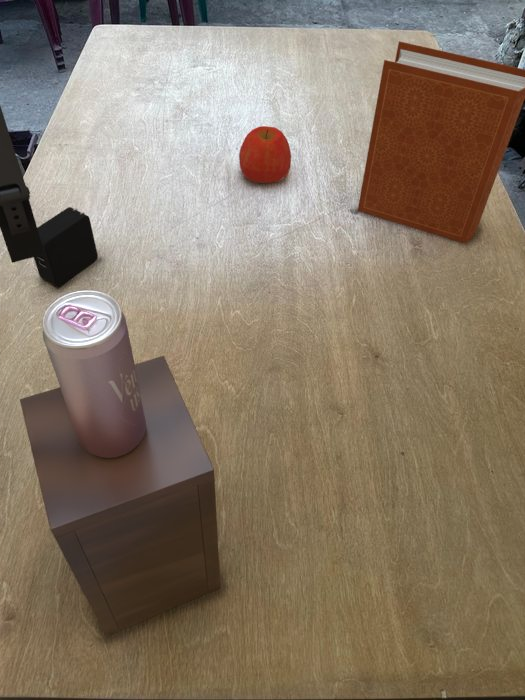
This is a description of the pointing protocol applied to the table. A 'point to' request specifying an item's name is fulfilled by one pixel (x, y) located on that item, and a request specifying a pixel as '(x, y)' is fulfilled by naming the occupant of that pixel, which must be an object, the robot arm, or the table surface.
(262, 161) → the apple
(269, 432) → the table surface
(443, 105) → the book
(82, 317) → the beverage can
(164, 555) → the stand
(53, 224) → the electronic device
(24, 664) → the table surface
